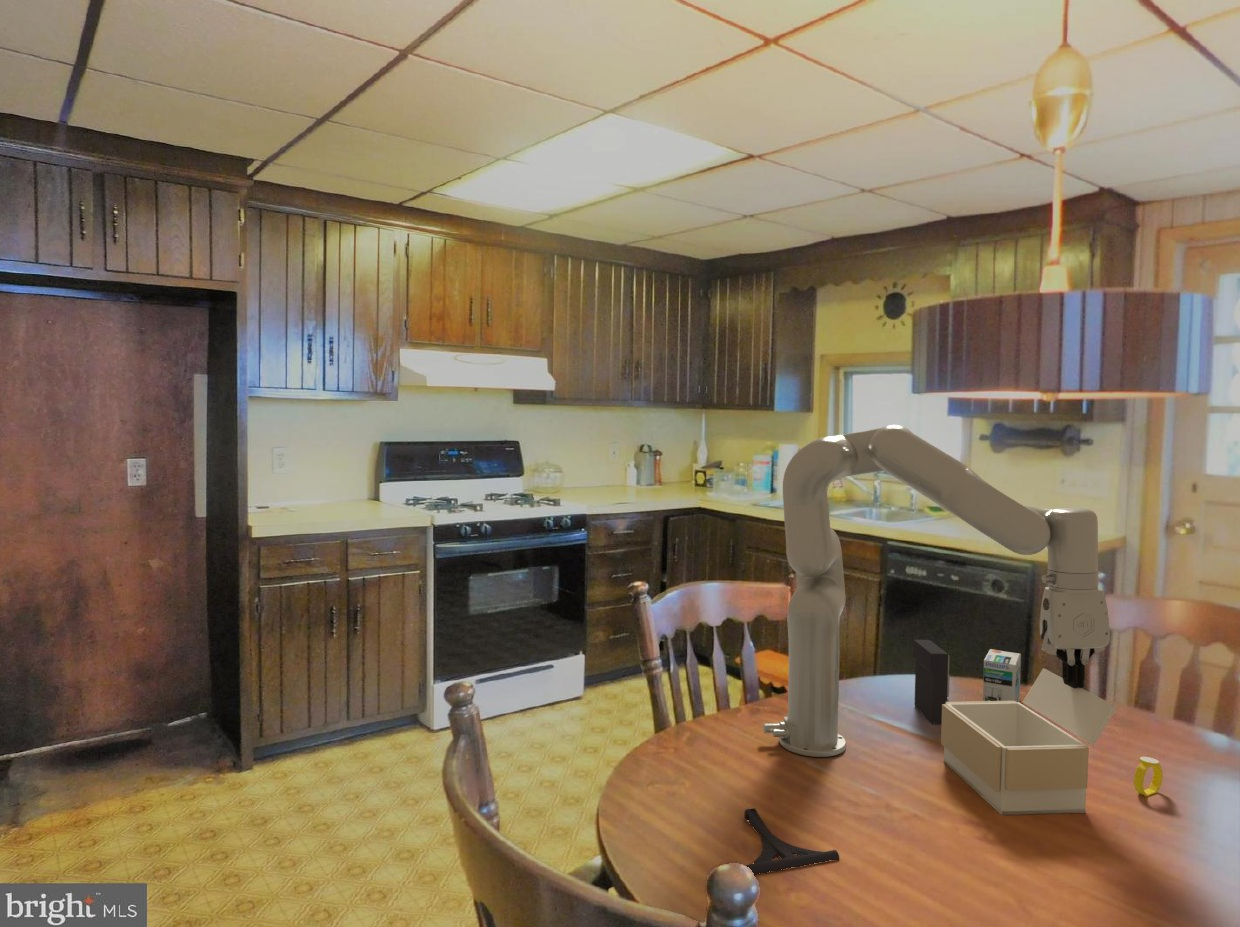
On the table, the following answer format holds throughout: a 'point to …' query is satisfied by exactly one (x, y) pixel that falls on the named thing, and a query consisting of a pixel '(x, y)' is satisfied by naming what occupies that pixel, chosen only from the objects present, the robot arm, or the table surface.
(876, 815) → the table surface
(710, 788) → the table surface
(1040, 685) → the carton flap
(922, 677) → the black rectangular block
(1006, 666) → the light bulb box
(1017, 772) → the carton
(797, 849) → the black squeegee
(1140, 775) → the watch
